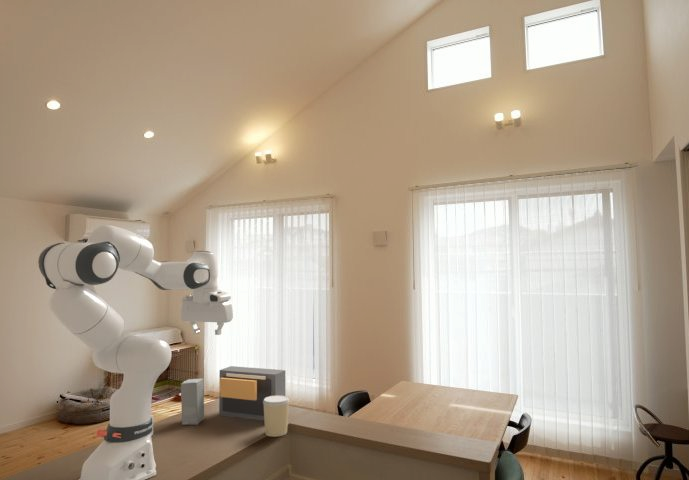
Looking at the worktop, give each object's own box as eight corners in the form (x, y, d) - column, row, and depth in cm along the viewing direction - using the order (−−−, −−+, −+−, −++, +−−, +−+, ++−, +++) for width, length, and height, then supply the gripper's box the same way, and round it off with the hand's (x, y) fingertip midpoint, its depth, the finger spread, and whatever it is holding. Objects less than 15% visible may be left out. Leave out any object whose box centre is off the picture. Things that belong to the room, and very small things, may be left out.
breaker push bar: (254, 400, 170) (254, 381, 170) (219, 396, 176) (219, 378, 176) (259, 398, 173) (259, 379, 173) (224, 394, 178) (224, 376, 179)
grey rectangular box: (274, 422, 173) (274, 375, 174) (217, 415, 182) (218, 370, 183) (285, 415, 181) (285, 370, 182) (230, 409, 190) (231, 366, 192)
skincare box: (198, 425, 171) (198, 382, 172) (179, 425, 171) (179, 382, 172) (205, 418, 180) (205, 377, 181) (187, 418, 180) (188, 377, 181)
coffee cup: (285, 426, 168) (285, 393, 169) (292, 435, 160) (292, 400, 161) (260, 430, 165) (260, 397, 166) (266, 439, 156) (266, 403, 157)
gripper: (176, 296, 163) (177, 334, 163) (224, 297, 156) (225, 337, 156) (188, 294, 169) (189, 330, 169) (234, 294, 162) (236, 333, 162)
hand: (207, 334), depth 163 cm, fingers open, 8 cm apart
